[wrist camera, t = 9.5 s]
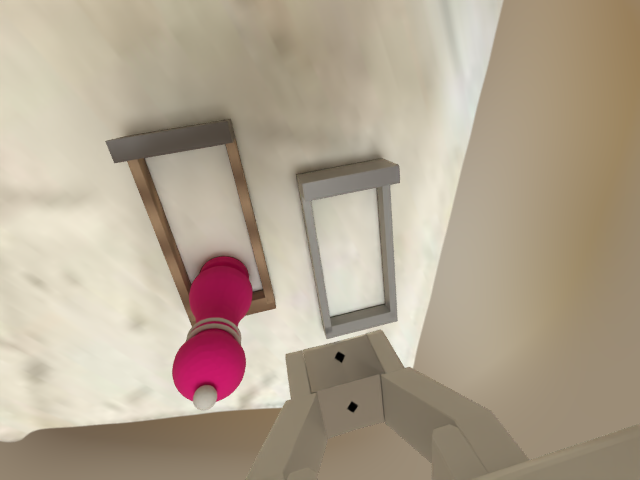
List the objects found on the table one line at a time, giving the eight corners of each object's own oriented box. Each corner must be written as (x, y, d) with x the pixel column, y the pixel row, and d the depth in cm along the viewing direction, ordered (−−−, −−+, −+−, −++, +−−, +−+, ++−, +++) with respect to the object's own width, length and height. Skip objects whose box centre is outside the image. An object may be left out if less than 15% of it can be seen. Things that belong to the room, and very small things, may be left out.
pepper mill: (229, 241, 40) (211, 353, 22) (263, 281, 43) (271, 407, 25) (183, 272, 41) (127, 406, 22) (219, 309, 44) (197, 453, 26)
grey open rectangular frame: (296, 174, 38) (302, 184, 34) (382, 158, 40) (399, 165, 35) (323, 330, 48) (331, 353, 44) (392, 313, 50) (406, 334, 45)
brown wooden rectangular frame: (125, 136, 33) (105, 141, 29) (230, 119, 35) (227, 121, 30) (195, 318, 43) (188, 343, 39) (275, 300, 45) (277, 322, 40)
